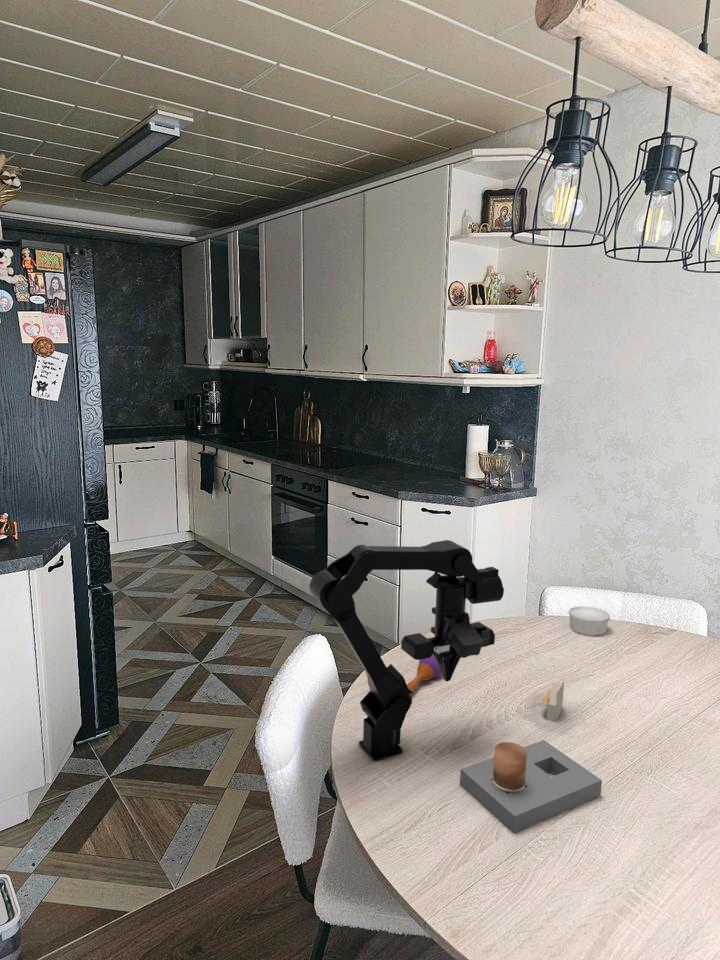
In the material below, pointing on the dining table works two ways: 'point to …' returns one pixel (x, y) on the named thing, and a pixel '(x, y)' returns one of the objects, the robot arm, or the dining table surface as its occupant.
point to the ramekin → (588, 620)
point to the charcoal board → (533, 787)
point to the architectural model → (554, 701)
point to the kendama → (425, 671)
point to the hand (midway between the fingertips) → (446, 680)
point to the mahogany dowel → (509, 767)
